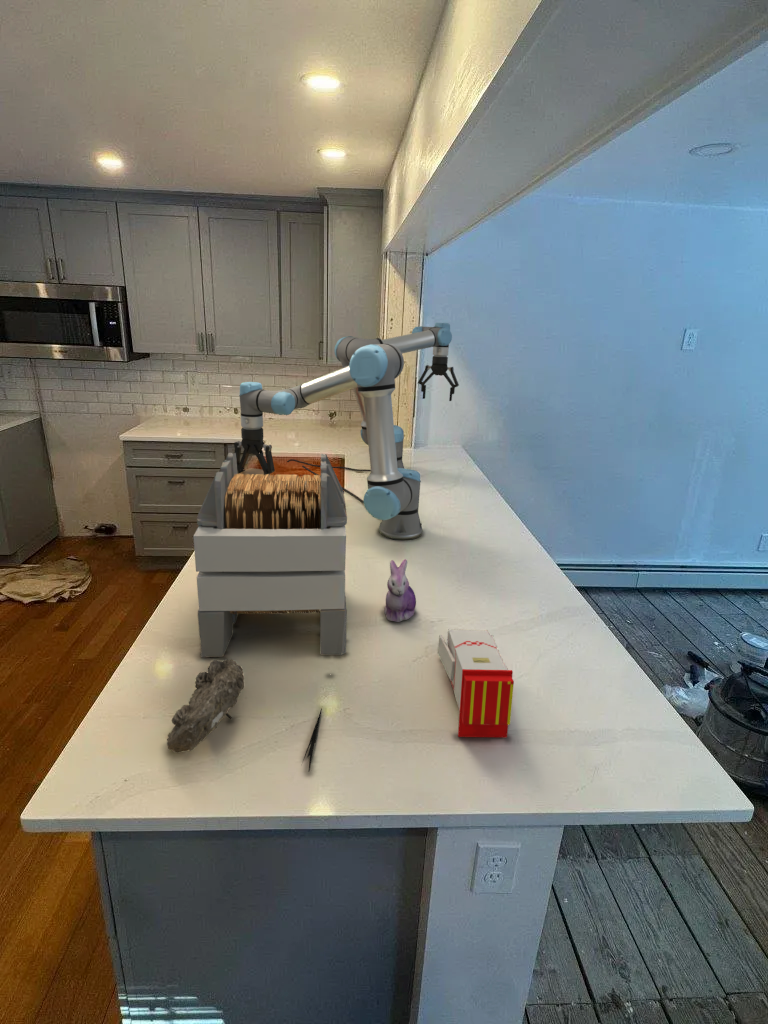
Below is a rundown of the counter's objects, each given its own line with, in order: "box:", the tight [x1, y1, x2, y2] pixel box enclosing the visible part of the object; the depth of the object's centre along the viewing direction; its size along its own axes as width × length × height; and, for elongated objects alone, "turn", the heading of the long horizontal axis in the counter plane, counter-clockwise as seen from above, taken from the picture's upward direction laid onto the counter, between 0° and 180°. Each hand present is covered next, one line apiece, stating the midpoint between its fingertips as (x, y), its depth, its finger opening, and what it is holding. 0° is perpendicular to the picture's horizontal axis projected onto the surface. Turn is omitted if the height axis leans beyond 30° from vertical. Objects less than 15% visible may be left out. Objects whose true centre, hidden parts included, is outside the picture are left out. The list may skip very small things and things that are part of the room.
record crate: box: [193, 452, 348, 659], centre depth 136 cm, size 34×33×41 cm
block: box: [239, 467, 264, 475], centre depth 205 cm, size 8×9×8 cm
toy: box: [437, 628, 515, 738], centre depth 117 cm, size 12×13×30 cm
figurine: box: [384, 558, 417, 623], centre depth 145 cm, size 9×10×15 cm
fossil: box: [166, 658, 245, 754], centre depth 106 cm, size 22×10×15 cm
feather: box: [301, 673, 332, 771], centre depth 108 cm, size 2×28×2 cm
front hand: (254, 489), depth 205 cm, fingers closed on block, 8 cm apart
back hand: (437, 399), depth 285 cm, fingers open, 13 cm apart
